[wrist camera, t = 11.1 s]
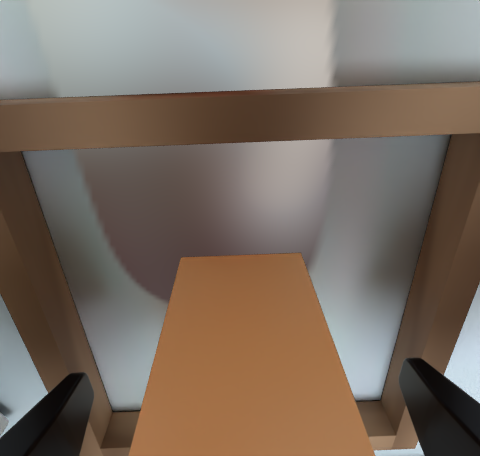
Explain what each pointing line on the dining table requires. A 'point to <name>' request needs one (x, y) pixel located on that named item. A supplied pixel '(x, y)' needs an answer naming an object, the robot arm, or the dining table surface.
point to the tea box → (3, 423)
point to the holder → (236, 131)
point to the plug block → (247, 367)
